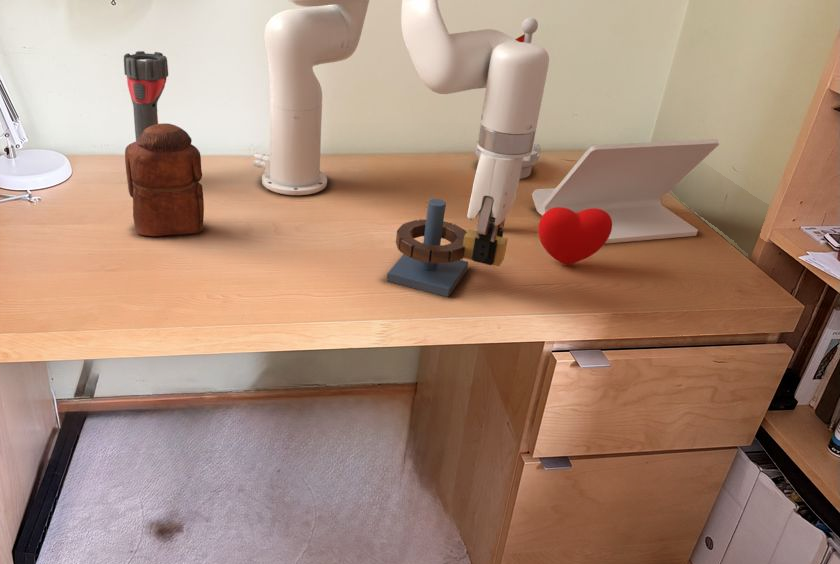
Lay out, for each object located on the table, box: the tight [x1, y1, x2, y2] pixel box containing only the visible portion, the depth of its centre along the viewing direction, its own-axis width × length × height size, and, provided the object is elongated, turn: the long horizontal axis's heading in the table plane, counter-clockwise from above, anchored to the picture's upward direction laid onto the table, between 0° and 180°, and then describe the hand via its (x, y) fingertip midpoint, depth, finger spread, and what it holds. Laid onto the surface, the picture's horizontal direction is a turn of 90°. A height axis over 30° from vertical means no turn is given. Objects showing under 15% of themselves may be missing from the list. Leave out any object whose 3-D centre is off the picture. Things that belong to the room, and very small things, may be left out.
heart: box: [537, 207, 612, 266], centre depth 126 cm, size 12×5×10 cm, turn 92°
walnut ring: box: [395, 218, 508, 267], centre depth 118 cm, size 16×11×4 cm, turn 66°
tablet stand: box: [531, 138, 720, 244], centre depth 140 cm, size 18×25×17 cm
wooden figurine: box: [124, 122, 205, 237], centre depth 127 cm, size 12×6×18 cm, turn 106°
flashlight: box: [123, 50, 169, 141], centre depth 143 cm, size 8×8×23 cm
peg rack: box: [386, 198, 469, 298], centre depth 119 cm, size 10×10×12 cm
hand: (485, 256), depth 117 cm, fingers closed on walnut ring, 2 cm apart
